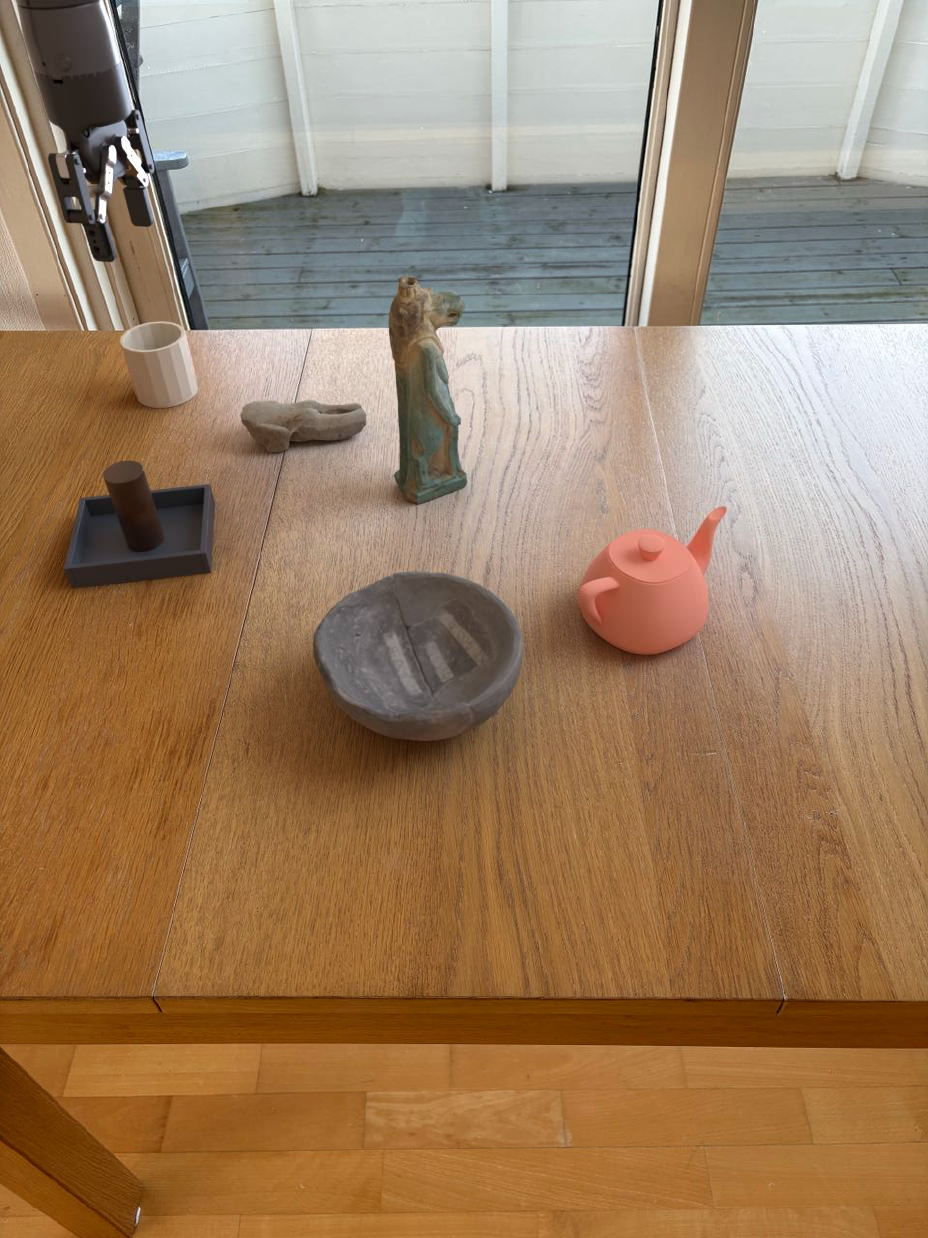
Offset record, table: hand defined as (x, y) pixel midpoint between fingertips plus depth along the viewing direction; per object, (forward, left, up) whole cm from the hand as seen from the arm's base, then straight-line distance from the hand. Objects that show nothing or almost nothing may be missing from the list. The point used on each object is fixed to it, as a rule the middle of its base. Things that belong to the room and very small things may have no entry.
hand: (125, 242), depth 95 cm
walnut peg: (-3, -15, -26) cm, 30 cm away
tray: (-3, -15, -27) cm, 31 cm away
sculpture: (+15, +3, -27) cm, 31 cm away
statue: (+29, -10, -27) cm, 40 cm away
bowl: (+24, -42, -27) cm, 55 cm away
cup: (-3, +17, -27) cm, 32 cm away
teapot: (+47, -35, -27) cm, 64 cm away
